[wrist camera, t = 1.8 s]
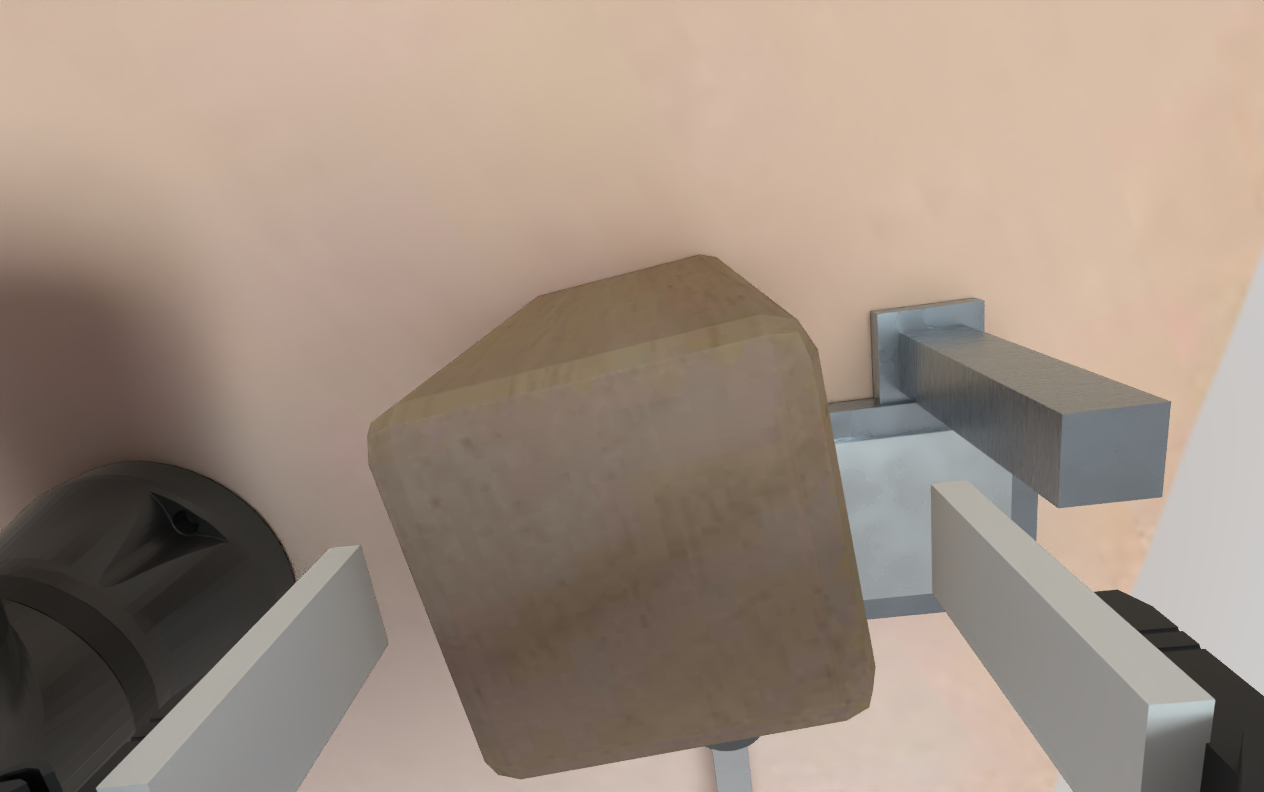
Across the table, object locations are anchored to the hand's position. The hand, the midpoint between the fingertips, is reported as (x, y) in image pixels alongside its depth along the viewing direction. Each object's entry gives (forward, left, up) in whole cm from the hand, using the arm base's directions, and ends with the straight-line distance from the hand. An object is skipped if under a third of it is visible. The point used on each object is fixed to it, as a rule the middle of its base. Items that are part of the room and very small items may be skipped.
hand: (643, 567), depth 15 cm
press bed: (+9, -9, -19) cm, 23 cm away
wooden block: (0, 0, -19) cm, 19 cm away
